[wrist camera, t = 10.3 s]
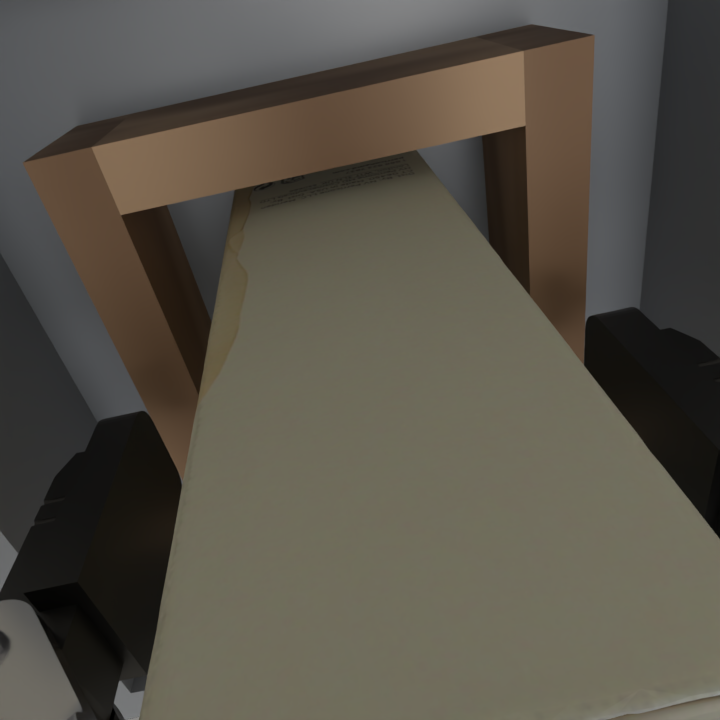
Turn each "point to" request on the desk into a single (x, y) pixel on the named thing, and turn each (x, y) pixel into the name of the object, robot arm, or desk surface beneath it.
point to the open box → (212, 213)
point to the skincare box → (416, 489)
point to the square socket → (317, 153)
